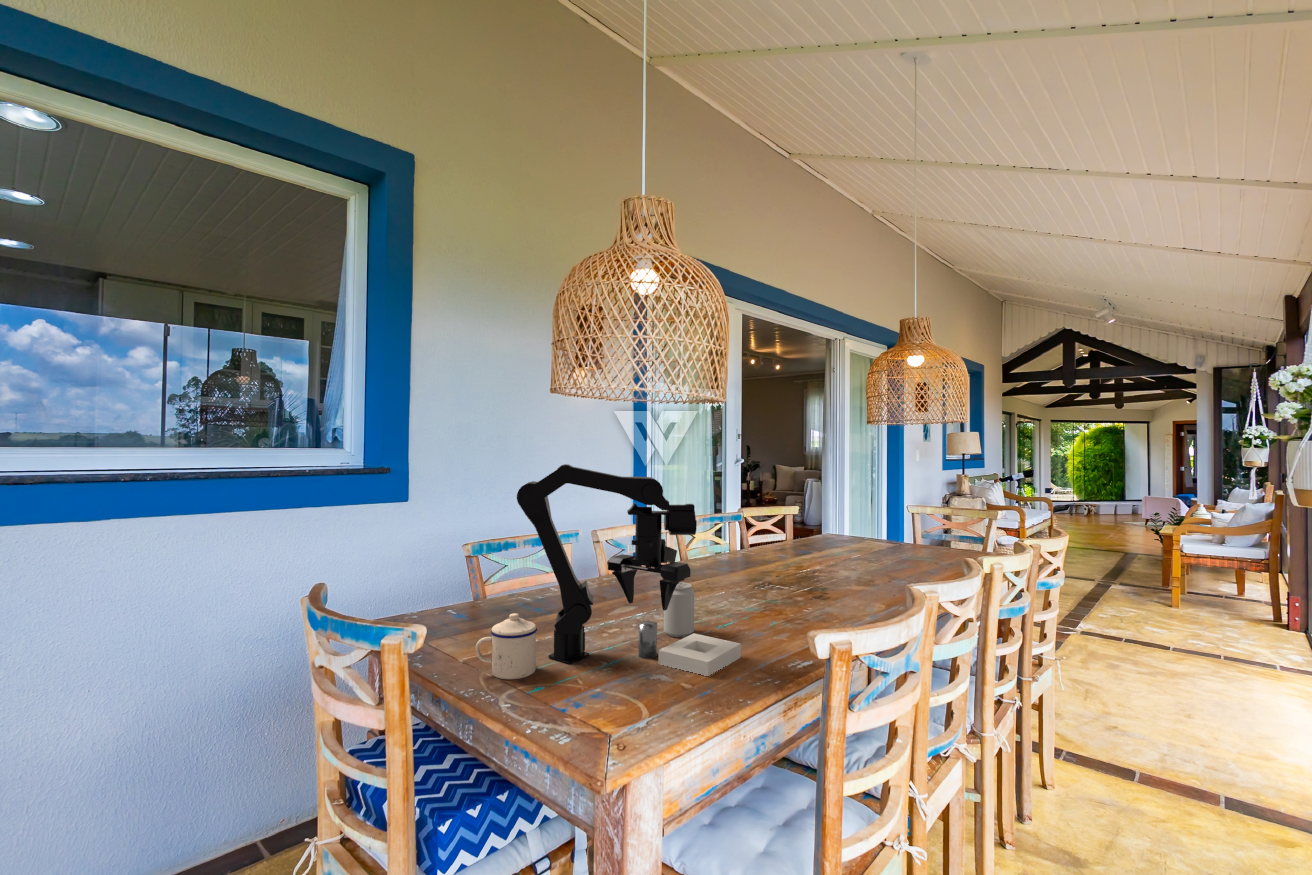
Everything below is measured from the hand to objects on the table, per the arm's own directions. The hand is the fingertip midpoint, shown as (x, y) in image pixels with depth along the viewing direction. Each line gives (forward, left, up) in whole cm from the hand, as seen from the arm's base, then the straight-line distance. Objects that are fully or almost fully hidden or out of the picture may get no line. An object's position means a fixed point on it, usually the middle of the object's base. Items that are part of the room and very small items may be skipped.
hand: (647, 606), depth 137 cm
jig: (+4, -11, -11) cm, 16 cm away
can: (+17, +3, -11) cm, 20 cm away
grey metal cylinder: (0, 0, -11) cm, 11 cm away
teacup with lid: (-25, +17, -11) cm, 32 cm away
